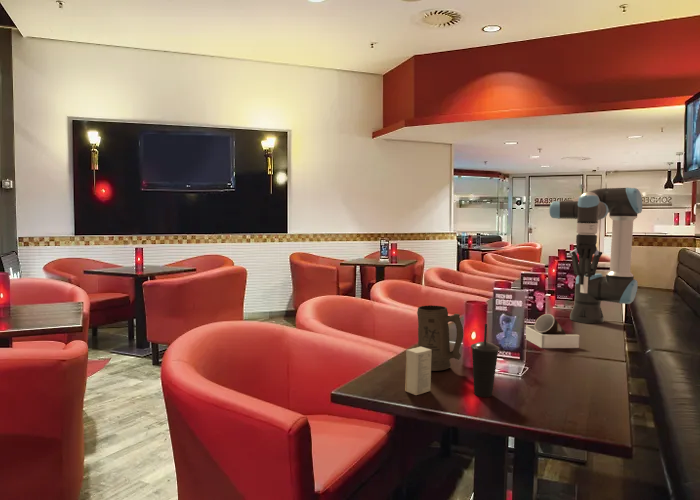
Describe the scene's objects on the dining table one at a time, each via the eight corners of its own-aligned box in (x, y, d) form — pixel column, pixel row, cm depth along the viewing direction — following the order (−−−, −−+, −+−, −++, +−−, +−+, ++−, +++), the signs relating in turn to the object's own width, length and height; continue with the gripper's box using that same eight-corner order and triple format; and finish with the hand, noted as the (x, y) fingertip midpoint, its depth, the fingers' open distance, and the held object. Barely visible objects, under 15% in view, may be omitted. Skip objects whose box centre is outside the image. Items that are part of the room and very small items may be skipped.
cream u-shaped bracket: (556, 336, 218) (556, 325, 218) (578, 347, 200) (579, 335, 200) (521, 336, 217) (522, 325, 216) (541, 348, 199) (542, 335, 199)
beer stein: (411, 369, 167) (413, 308, 166) (419, 361, 177) (421, 303, 176) (460, 375, 162) (462, 312, 161) (464, 366, 172) (467, 307, 171)
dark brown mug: (554, 325, 213) (541, 312, 209) (572, 329, 205) (558, 315, 201) (541, 349, 210) (527, 336, 207) (558, 354, 203) (543, 340, 199)
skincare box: (419, 387, 150) (421, 346, 150) (431, 391, 147) (432, 349, 146) (404, 391, 146) (405, 349, 146) (415, 396, 143) (416, 352, 142)
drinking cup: (480, 400, 140) (483, 327, 139) (463, 391, 147) (466, 322, 146) (503, 397, 143) (506, 326, 142) (485, 388, 150) (488, 320, 149)
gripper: (576, 234, 203) (573, 294, 204) (607, 234, 204) (604, 294, 205) (566, 233, 210) (563, 291, 212) (596, 234, 211) (593, 291, 213)
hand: (583, 292), depth 209 cm, fingers closed
